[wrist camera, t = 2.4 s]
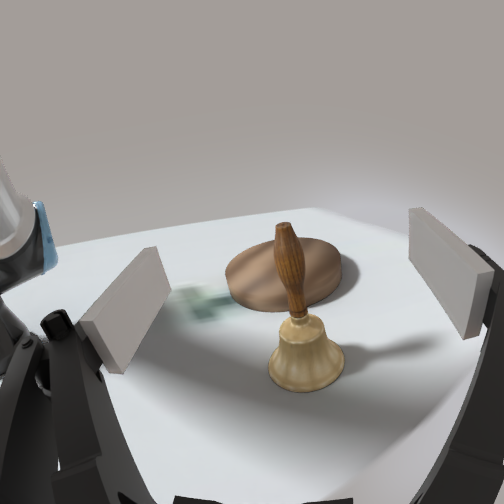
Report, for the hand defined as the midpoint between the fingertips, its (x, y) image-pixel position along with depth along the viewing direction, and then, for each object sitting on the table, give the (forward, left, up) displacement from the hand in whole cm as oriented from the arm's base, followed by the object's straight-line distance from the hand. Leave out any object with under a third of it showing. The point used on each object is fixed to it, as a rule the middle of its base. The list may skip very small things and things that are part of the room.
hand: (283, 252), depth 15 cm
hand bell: (-5, +8, -18) cm, 21 cm away
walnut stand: (-17, +23, -18) cm, 34 cm away
